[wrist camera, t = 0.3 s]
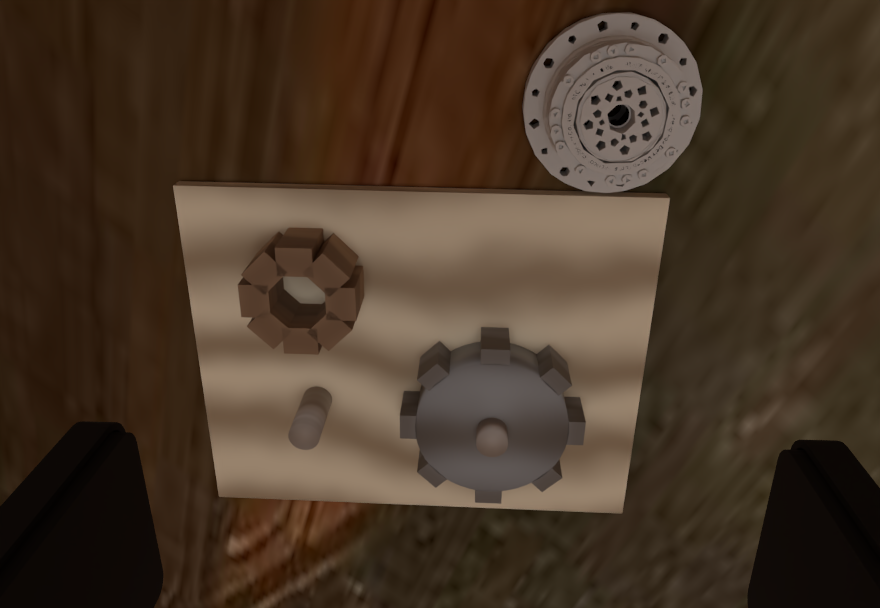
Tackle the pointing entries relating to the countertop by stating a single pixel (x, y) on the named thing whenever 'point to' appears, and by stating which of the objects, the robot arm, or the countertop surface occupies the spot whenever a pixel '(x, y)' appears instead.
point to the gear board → (432, 344)
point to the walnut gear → (281, 311)
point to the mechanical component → (612, 102)
